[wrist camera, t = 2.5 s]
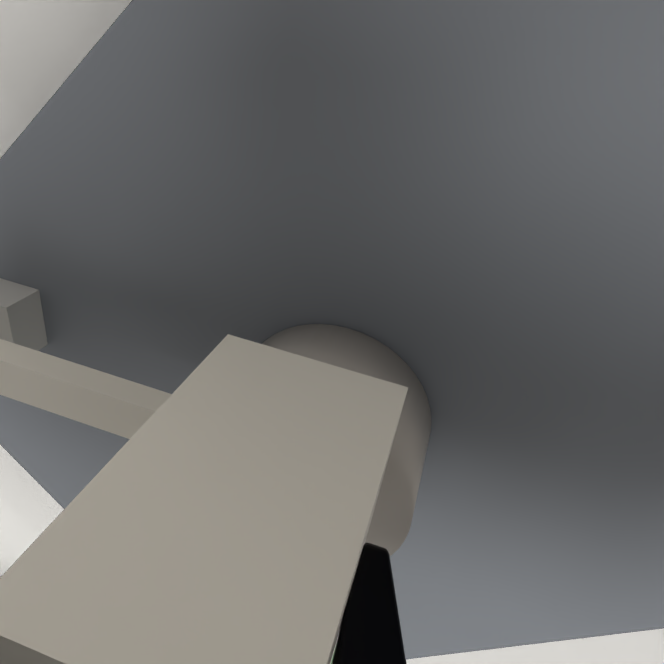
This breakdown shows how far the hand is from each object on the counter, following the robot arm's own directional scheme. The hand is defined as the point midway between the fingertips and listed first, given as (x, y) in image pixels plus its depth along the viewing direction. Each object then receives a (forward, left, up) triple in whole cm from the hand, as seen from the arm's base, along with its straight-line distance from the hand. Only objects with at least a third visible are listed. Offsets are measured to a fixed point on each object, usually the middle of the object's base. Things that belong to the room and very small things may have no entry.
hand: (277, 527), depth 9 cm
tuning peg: (+3, -3, -3) cm, 5 cm away
